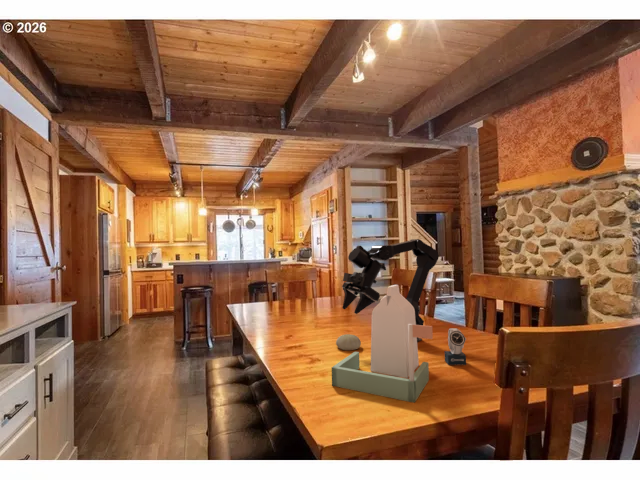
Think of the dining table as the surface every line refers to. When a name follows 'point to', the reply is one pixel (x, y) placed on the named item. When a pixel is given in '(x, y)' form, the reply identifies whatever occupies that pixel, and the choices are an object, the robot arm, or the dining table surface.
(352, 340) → the sea urchin shell
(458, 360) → the watch
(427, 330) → the corral
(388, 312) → the milk
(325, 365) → the dining table surface
